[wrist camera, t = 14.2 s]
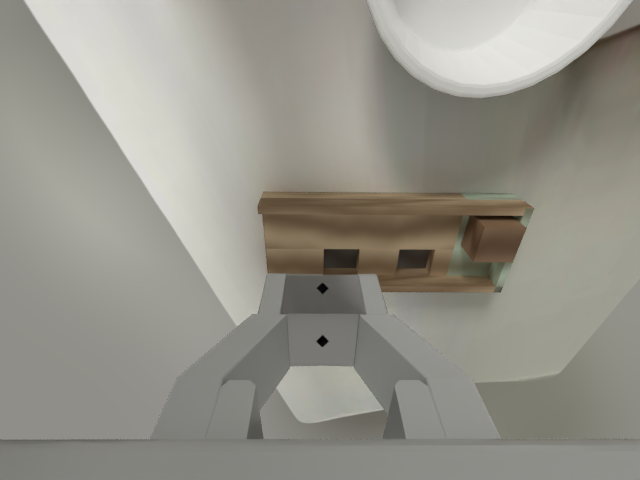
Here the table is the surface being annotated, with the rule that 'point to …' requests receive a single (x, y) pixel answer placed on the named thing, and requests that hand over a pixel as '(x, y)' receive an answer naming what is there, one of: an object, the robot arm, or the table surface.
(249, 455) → the robot arm
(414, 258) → the trap lane
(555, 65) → the bowl
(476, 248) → the walnut block
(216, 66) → the table surface
